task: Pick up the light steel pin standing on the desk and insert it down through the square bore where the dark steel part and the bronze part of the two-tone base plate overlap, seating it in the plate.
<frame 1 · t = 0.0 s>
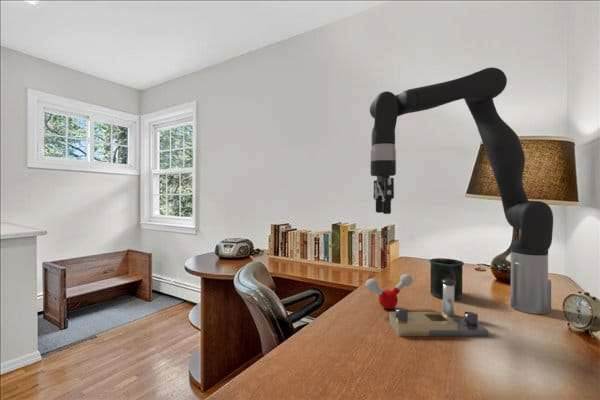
hand: (382, 213, 95), 29 cm above the table, fingers open, 8 cm apart
two-tone base plate: (436, 329, 80), on the table
pin: (448, 314, 90), on the table
molecular model: (388, 309, 95), on the table
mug: (448, 295, 109), on the table
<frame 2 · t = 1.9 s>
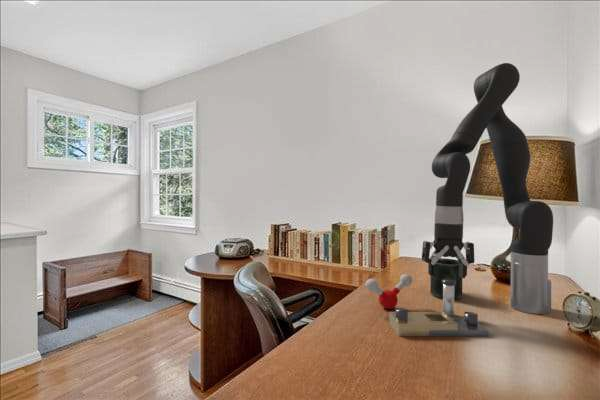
hand: (447, 277, 90), 11 cm above the table, fingers open, 8 cm apart
nothing on the table moved.
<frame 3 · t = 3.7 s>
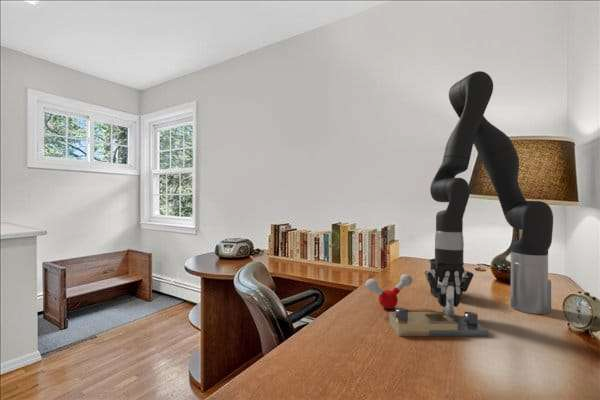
hand: (448, 305, 90), 3 cm above the table, fingers closed on pin, 3 cm apart
pin: (448, 314, 90), on the table, touching gripper
everything else where it was.
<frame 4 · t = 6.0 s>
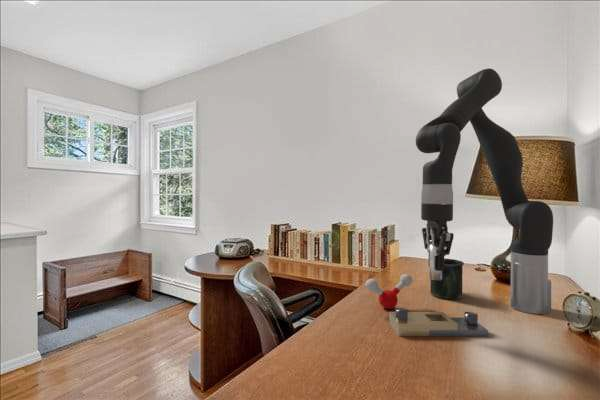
hand: (436, 268, 80), 16 cm above the table, fingers closed on pin, 3 cm apart
pin: (435, 278, 80), point 13 cm above the table, touching gripper
everything else where it was.
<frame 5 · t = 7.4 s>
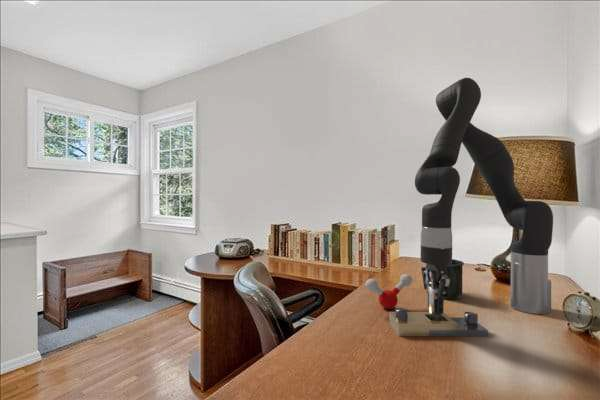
hand: (435, 310, 80), 5 cm above the table, fingers closed on pin, 3 cm apart
pin: (434, 320, 80), point 2 cm above the table, touching gripper
everything else where it was.
when the fingers open (4 cm above the table, at t = 8.4 s): pin drops 1 cm, resting in two-tone base plate.
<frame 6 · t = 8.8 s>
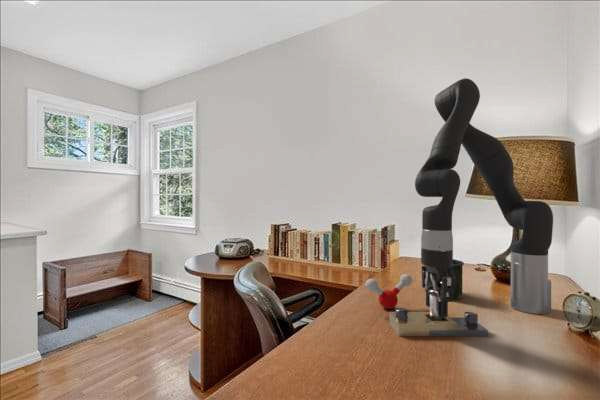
hand: (436, 311, 80), 5 cm above the table, fingers open, 6 cm apart
pin: (435, 329, 80), resting in two-tone base plate
everything else where it was.
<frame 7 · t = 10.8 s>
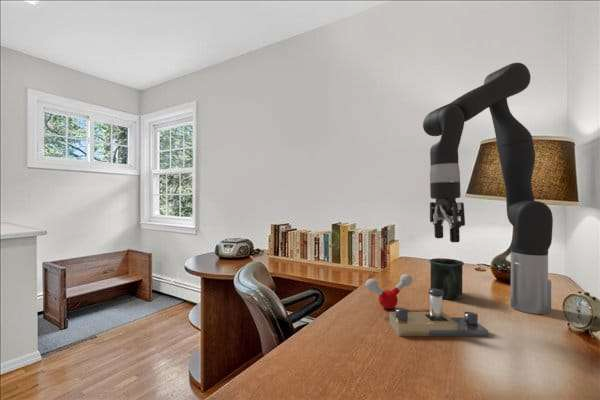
hand: (446, 240, 85), 22 cm above the table, fingers open, 8 cm apart
nothing on the table moved.
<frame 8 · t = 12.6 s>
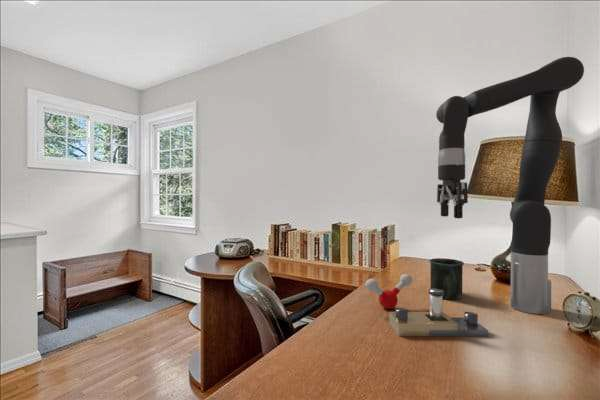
hand: (451, 217, 95), 28 cm above the table, fingers open, 8 cm apart
nothing on the table moved.
at the end: pin 0.1 cm off-centre on the two-tone base plate, point 0.0 cm above the two-tone base plate's base; pin tilted 0°; the gripper is holding nothing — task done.
